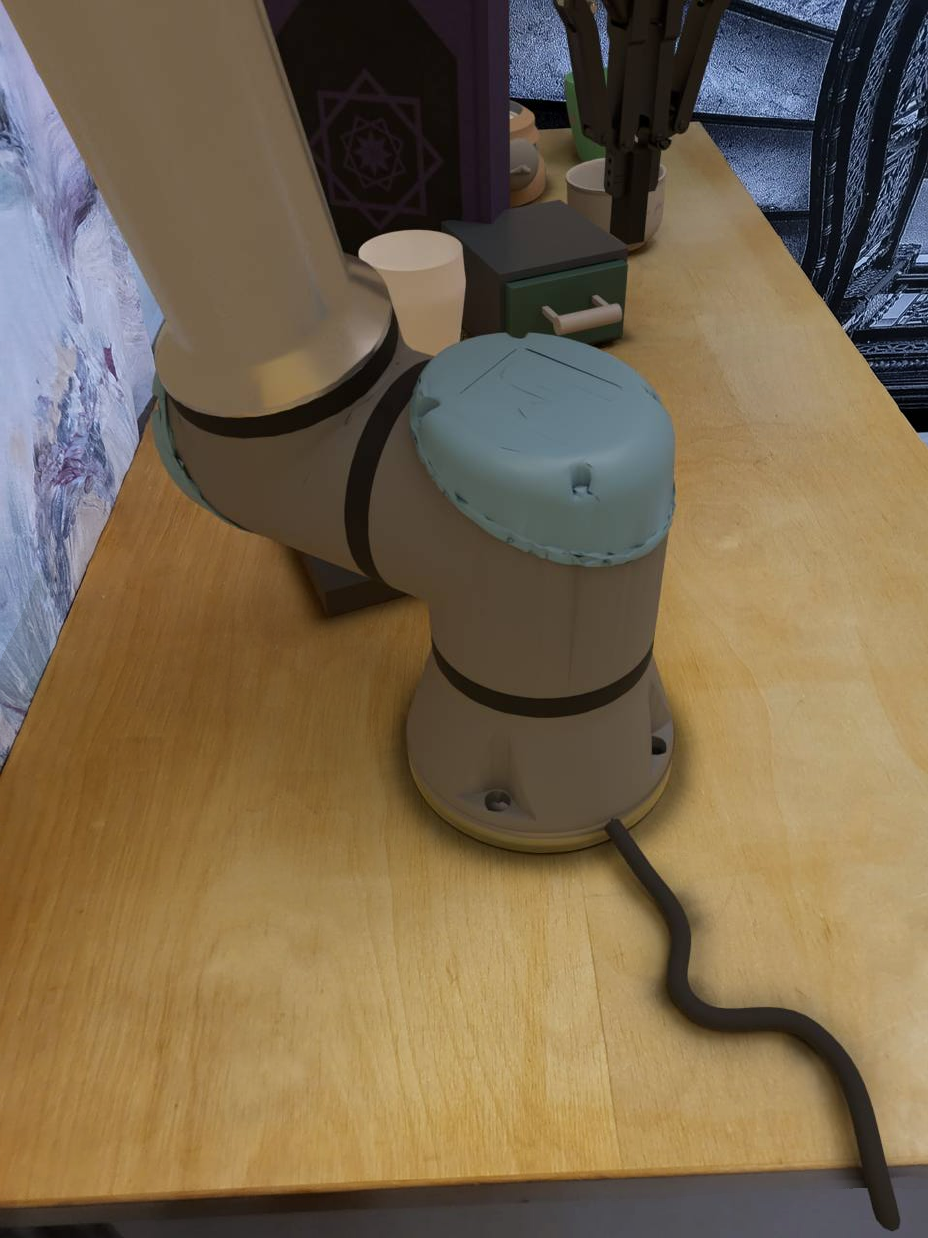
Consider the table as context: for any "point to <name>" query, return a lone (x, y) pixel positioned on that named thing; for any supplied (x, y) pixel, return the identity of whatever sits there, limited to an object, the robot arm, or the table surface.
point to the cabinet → (524, 256)
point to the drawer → (569, 303)
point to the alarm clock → (524, 157)
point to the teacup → (609, 198)
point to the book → (401, 108)
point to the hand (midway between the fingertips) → (626, 236)
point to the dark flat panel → (344, 586)
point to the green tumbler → (584, 145)
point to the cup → (422, 284)
